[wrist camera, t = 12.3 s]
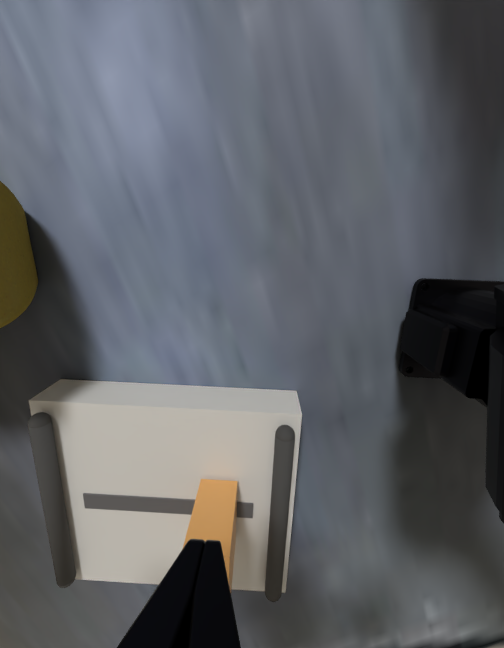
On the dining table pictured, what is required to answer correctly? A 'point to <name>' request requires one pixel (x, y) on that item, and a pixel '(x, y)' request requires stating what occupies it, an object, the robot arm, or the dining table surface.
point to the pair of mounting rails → (58, 520)
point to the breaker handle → (216, 518)
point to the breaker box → (164, 471)
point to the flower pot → (14, 259)
